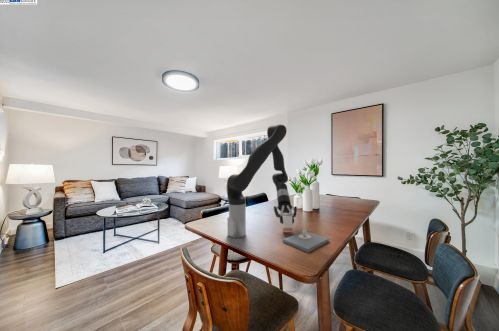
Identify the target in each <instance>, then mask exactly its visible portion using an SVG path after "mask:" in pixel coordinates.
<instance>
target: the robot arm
mask: <svg viewBox="0 0 499 331" xmlns="http://www.w3.org/2000/svg"><path fill="white" fill-rule="evenodd" d="M266 134H267V139H266V140H265V141H262V142H261V143H260V144H258V145H257V146H256V147H255V148H254V149H253V151H252V152H251V153H250V155H249V156H248V160H247V162H246V165H245V167H243V169H242V170H241V171H240V172H239V174H238V173H237V174H235V173H234V174H231V175H229V176H228V178H227V180H226V190H227V193H226V194H227V200H228V217H227V236H229V237H231V238H233V239H237V238H238V239H239V238H243V237H245V236H246V235H247V234H246V233H247V226H246V224H247V223H246V222H247V220H246V218H247V217H246V216H247V215H246V214H247V213H246V210H247V208H246V207H247V206H246V202H247V201H246V197H245V196H244V195H243V192H244V191H245V190H246V189H247V188H248V186H250V183H251V182H252V180H253V178H254V176H255V175H256V174H257V172H258V171H259V169H260V168H261V167H262V166H263V164H264V163H265V162H266V160H267V159H268V158H269V156H270V155H272V162H273V170H274V171H277V172H278V173H273V175H272V177H271V178H272V182H273V184H274V186H275V189H276V200H277V206H273V212H274V214H275V217H276V218H278V219H279V222H280V224H281V225H282V224H283V217H282V214H290V215H291V216H292V225H293V224H295V218H296V216H297V212H298V211H297V210H298V209H297V208H298V207H297V206H296V205H295V206H293V205H292V204H291V198H290V193H289V191H288V185H287V184H286V183H287V182H288V181H289V176H288V173H287V171H286V167H285V159H284V155H283V153H282V151H281V149H280V148H279V144H280V143H281V142H282V140H283V139H285V137H286V135H287V127H286V126H285V125H284V124H272V125H269V126H268V127H267V133H266ZM271 153H272V154H271ZM278 210H279V211H278ZM279 212H280V213H279Z"/></svg>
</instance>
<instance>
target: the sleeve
mask: <svg viewBox="0 0 499 331" xmlns="http://www.w3.org/2000/svg"><path fill="white" fill-rule="evenodd" d="M282 217H283V224H282V223H281V226H280V227H281V230H282V232H293V224H292V216H291V215H290V214H288V213H283V214H282Z"/></svg>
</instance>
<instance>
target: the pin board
mask: <svg viewBox="0 0 499 331" xmlns="http://www.w3.org/2000/svg"><path fill="white" fill-rule="evenodd" d="M329 242H330V239H329V238H328V237H324V236H322V235H318V234H315V233H312V232H309V231H308V230H307V229H306V228H303V229H302V231H301V232H298V233H295V234H293V235H291V236H288V237H285V238H282V243H283V244H286V245H288V246H290V247H293V248H295V249H297V250H301V251H303V252H306V253H310V252H312V251H314V250H316V249H318V248H319V247H321V246H323V245H326V244H327V243H329Z"/></svg>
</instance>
